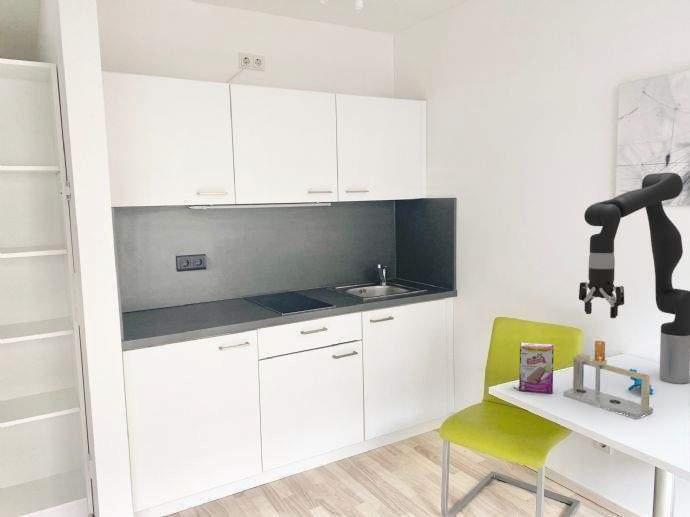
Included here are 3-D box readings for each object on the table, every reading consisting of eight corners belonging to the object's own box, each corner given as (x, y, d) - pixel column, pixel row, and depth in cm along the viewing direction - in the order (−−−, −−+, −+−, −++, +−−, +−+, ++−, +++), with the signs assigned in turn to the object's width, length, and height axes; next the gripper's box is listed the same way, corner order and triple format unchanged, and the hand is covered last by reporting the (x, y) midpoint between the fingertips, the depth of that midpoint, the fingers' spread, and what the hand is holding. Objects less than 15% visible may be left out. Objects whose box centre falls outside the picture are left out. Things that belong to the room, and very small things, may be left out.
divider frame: (579, 389, 183) (580, 351, 181) (652, 412, 162) (654, 369, 160) (563, 395, 178) (564, 355, 177) (636, 419, 157) (637, 374, 156)
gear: (649, 394, 172) (627, 368, 177) (634, 404, 175) (613, 378, 180) (659, 390, 179) (638, 365, 184) (645, 399, 182) (625, 375, 188)
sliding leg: (597, 392, 175) (598, 340, 173) (606, 394, 172) (607, 342, 170) (591, 394, 173) (592, 341, 171) (600, 396, 171) (601, 343, 169)
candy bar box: (519, 391, 183) (519, 345, 181) (519, 386, 188) (519, 342, 186) (553, 394, 179) (553, 347, 178) (552, 389, 184) (553, 343, 182)
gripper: (629, 267, 164) (628, 317, 166) (588, 263, 176) (587, 311, 178) (615, 269, 160) (614, 321, 162) (574, 265, 172) (573, 313, 174)
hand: (600, 315), depth 170 cm, fingers open, 8 cm apart
